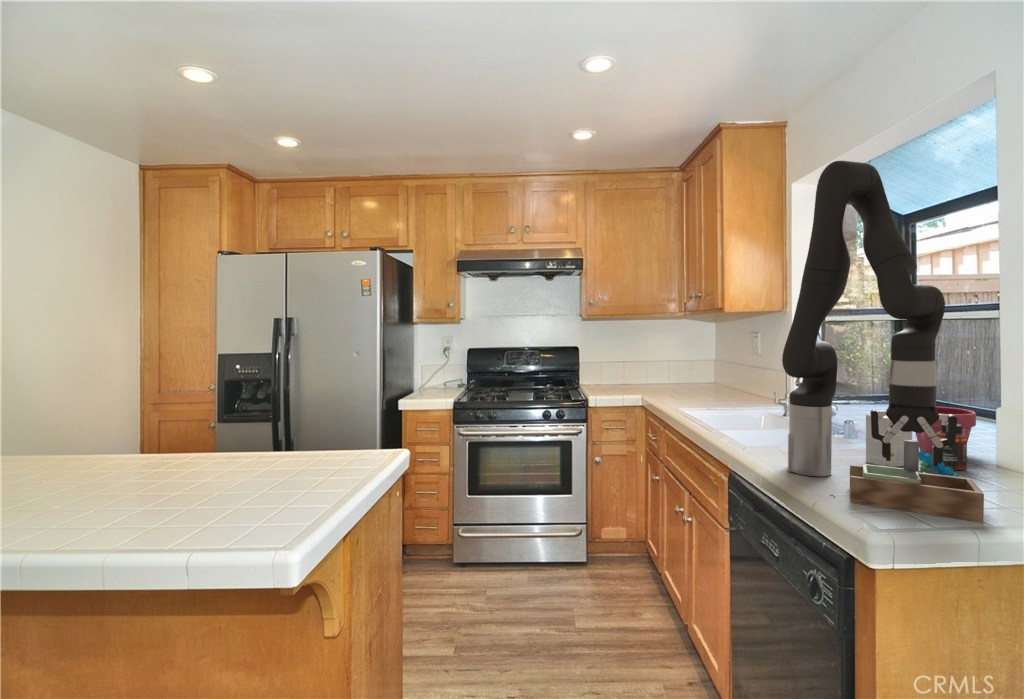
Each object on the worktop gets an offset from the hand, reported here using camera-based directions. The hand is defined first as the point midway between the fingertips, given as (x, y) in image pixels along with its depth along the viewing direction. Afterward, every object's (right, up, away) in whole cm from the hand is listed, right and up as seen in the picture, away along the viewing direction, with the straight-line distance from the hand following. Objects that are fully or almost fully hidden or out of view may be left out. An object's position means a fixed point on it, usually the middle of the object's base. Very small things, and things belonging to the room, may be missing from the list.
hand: (911, 462), depth 101 cm
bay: (0, -9, 0) cm, 9 cm away
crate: (-3, -7, +2) cm, 8 cm away
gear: (+17, -8, +14) cm, 23 cm away
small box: (+18, -7, +30) cm, 36 cm away
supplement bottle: (+31, -7, +25) cm, 40 cm away
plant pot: (+40, -7, +38) cm, 55 cm away
